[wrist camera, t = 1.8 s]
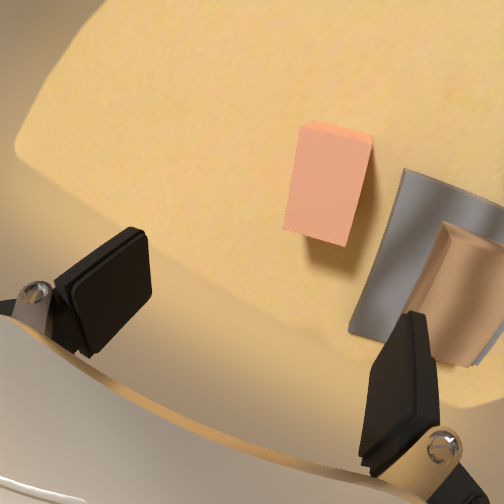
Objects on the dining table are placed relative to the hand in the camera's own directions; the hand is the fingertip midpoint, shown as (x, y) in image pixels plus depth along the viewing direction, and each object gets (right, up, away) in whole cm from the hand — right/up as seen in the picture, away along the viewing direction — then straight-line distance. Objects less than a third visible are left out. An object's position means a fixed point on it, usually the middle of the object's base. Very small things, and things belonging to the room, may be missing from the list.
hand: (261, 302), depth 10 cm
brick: (+7, +9, +16) cm, 19 cm away
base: (+20, -1, +16) cm, 25 cm away
